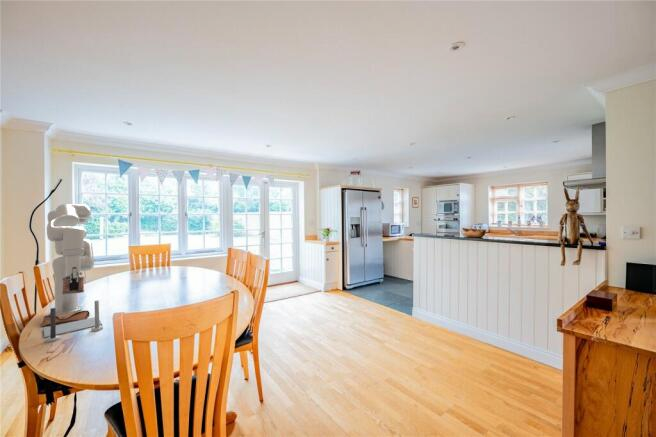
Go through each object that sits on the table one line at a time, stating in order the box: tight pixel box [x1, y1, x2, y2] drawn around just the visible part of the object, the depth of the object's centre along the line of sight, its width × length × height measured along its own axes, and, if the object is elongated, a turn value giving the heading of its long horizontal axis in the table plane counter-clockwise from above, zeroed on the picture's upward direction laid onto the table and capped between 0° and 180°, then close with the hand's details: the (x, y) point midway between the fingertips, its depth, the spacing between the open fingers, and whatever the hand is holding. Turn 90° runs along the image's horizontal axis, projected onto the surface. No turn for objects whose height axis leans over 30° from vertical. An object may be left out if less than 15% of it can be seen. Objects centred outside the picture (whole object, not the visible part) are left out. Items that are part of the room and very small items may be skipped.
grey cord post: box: [90, 300, 104, 332], centre depth 131 cm, size 4×4×14 cm
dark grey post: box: [45, 307, 61, 343], centre depth 120 cm, size 4×4×14 cm
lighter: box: [62, 271, 85, 294], centre depth 133 cm, size 8×3×10 cm, turn 114°
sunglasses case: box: [39, 310, 90, 328], centre depth 141 cm, size 18×7×7 cm, turn 123°
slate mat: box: [43, 316, 103, 339], centre depth 133 cm, size 14×20×1 cm
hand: (73, 288), depth 133 cm, fingers closed on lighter, 4 cm apart
